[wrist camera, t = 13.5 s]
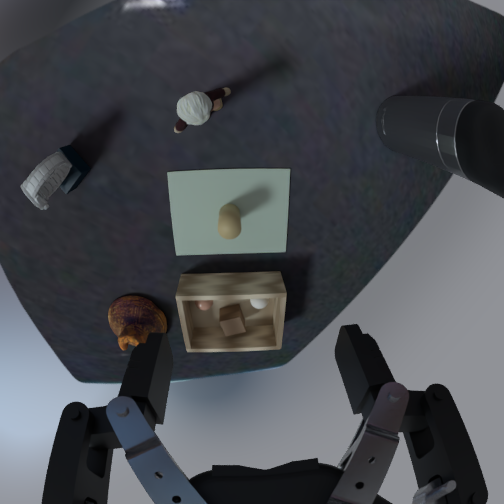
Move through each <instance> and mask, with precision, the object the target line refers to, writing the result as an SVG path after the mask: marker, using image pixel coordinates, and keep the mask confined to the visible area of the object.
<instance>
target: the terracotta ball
mask: <svg viewBox="0 0 504 504" xmlns="http://www.w3.org/2000/svg"><path fill="white" fill-rule="evenodd" d="M195 305H196V307H197V308H198V309H200V310H203V311H205V310H208V309H210V308H211V307H212V305H213V300H195Z"/></svg>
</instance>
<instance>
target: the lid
mask: <svg viewBox="0 0 504 504" xmlns="http://www.w3.org/2000/svg"><path fill="white" fill-rule="evenodd" d="M167 173H168V186H169V197H170V207H171V216H172V225H173V234H174V242H175V250H176V255H203V254H236V253H269V252H286V240H287V223H288V206H289V186H290V169H272V168H254V169H212V170H191V171H175V172H167Z"/></svg>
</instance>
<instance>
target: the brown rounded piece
mask: <svg viewBox="0 0 504 504" xmlns="http://www.w3.org/2000/svg"><path fill="white" fill-rule="evenodd" d="M108 319H109V323H110V327H111V329H112V330H113V331H114V333H115V334H116V335H117V336H118V343H119V345H120V348H121V349H122V350H126V349H127V348H128V344H131V345H133V346H137V345H138V344H139V343H146V340H147V337H148V334H149V333H150V332H157V333H166V331H167V321H166V317H165V315H164V313H163V312H162V311H161V310H160V309H159V308H158V307H157V306H156V305H155V304H154V303H153V302H152V301H150V300H148V299H146V298H143V297H140V296H132V295H129V296H124V297H121V298H118V299H117V300H115V301H114V302H113V303H112V304H111V306H110V308H109V312H108ZM116 321H117V322H116Z"/></svg>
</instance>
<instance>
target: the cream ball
mask: <svg viewBox="0 0 504 504" xmlns="http://www.w3.org/2000/svg"><path fill="white" fill-rule="evenodd" d="M250 302H251V304H252V306H253V307H255V308H257V309H262V308H264V307H266V306H267V304H268V302H269V298H263V299H250Z"/></svg>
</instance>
